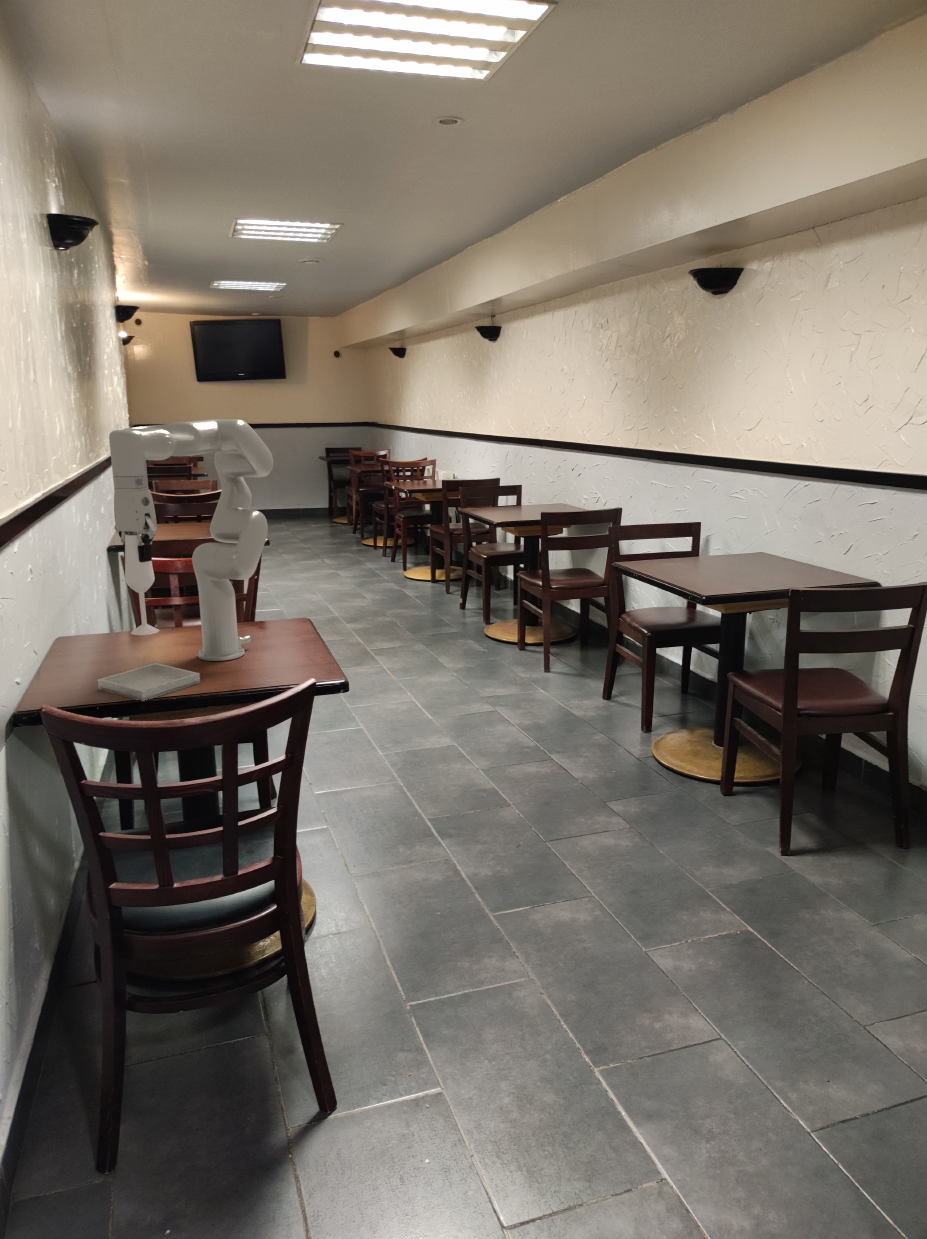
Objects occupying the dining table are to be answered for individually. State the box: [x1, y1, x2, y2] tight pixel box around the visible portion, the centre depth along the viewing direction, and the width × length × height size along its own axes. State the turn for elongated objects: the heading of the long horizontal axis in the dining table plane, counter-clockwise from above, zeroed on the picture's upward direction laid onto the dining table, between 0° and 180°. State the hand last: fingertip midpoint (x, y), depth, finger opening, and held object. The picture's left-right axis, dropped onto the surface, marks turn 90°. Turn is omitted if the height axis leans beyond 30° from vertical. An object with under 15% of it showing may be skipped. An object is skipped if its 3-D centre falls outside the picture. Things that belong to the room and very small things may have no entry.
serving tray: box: [97, 662, 201, 702], centre depth 211 cm, size 17×17×2 cm
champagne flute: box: [124, 533, 160, 636], centre depth 205 cm, size 7×7×24 cm
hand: (138, 559), depth 203 cm, fingers closed on champagne flute, 4 cm apart
